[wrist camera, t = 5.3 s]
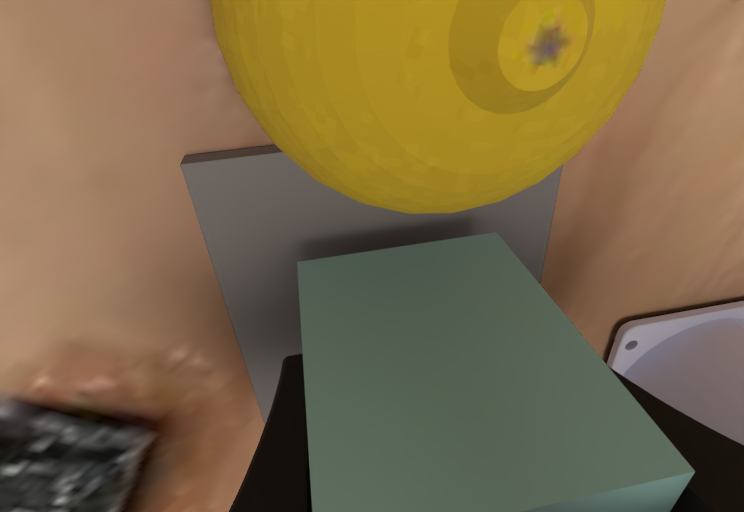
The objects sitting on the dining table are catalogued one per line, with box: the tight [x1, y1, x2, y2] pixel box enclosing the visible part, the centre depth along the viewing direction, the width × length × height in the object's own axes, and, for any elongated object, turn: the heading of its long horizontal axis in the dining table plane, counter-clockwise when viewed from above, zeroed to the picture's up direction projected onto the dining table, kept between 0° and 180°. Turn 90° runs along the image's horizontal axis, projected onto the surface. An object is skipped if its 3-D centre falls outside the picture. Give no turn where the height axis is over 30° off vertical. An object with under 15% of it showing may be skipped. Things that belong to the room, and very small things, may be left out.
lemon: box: [210, 0, 666, 214], centre depth 6 cm, size 6×6×8 cm
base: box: [180, 145, 563, 423], centre depth 14 cm, size 10×10×1 cm
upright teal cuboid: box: [297, 232, 695, 512], centre depth 10 cm, size 5×5×7 cm
